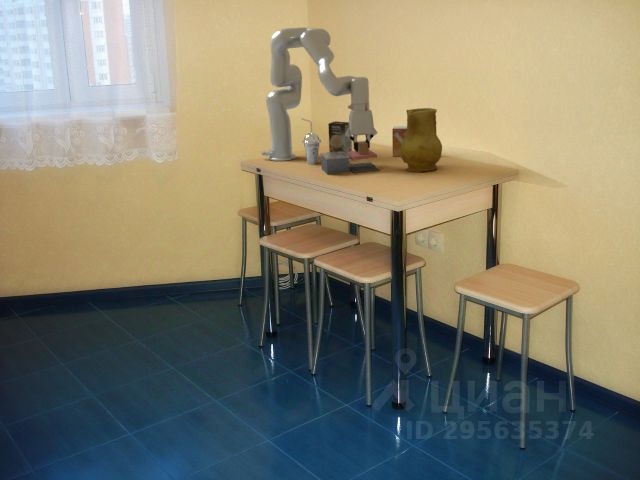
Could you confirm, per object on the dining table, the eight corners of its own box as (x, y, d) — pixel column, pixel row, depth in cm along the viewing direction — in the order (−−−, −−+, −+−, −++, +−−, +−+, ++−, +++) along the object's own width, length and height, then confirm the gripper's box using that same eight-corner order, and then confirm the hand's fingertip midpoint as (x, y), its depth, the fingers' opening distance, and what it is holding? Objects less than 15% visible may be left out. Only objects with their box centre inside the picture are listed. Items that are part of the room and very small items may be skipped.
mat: (353, 173, 306) (353, 172, 306) (344, 165, 321) (344, 164, 321) (380, 170, 308) (380, 169, 308) (370, 163, 323) (370, 162, 323)
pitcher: (393, 168, 312) (392, 109, 304) (430, 162, 318) (430, 105, 311) (413, 175, 297) (413, 114, 289) (452, 169, 303) (453, 109, 296)
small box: (392, 156, 335) (392, 128, 331) (393, 154, 340) (393, 126, 336) (410, 156, 333) (410, 128, 329) (411, 154, 339) (411, 125, 335)
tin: (327, 174, 306) (326, 158, 304) (321, 169, 317) (320, 153, 315) (350, 172, 308) (349, 156, 306) (343, 166, 319) (342, 151, 317)
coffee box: (328, 158, 339) (327, 123, 334) (335, 155, 344) (334, 121, 339) (345, 159, 334) (344, 124, 329) (352, 156, 339) (351, 122, 334)
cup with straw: (307, 166, 324) (304, 121, 317) (300, 162, 332) (297, 118, 325) (325, 164, 326) (323, 119, 320) (317, 160, 335) (315, 116, 328)
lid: (354, 159, 306) (353, 146, 304) (347, 154, 317) (346, 141, 316) (377, 157, 308) (376, 144, 306) (369, 152, 319) (369, 139, 318)
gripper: (343, 110, 302) (344, 153, 307) (382, 106, 305) (383, 150, 310) (338, 107, 309) (340, 150, 314) (377, 104, 312) (378, 147, 317)
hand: (361, 150), depth 312 cm, fingers closed on lid, 4 cm apart
